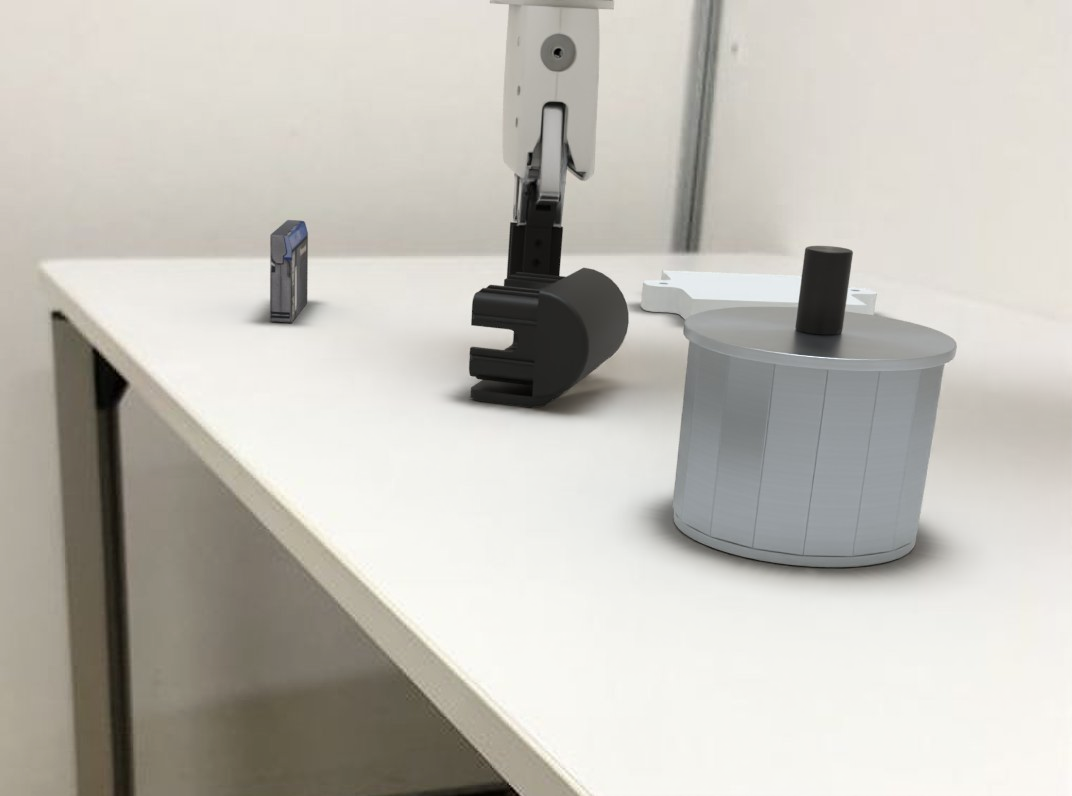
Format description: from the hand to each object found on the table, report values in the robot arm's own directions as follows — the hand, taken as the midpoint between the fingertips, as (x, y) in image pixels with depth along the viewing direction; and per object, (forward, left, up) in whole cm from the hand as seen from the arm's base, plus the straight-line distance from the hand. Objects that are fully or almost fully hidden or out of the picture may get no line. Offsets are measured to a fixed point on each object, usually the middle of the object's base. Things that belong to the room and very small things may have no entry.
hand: (532, 287), depth 104 cm
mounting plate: (-20, -19, -5) cm, 28 cm away
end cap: (0, +10, -5) cm, 11 cm away
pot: (-8, +36, -5) cm, 37 cm away
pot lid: (-8, +36, +4) cm, 37 cm away
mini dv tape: (+16, -13, -5) cm, 21 cm away
